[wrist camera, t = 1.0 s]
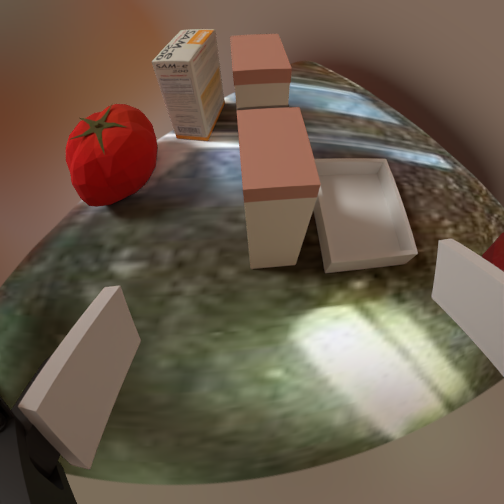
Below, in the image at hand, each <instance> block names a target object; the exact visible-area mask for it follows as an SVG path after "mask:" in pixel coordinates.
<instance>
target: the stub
mask: <svg viewBox="0 0 504 504" xmlns="http://www.w3.org/2000/svg"><path fill="white" fill-rule="evenodd" d="M237 121H238V134H239V146H240V159H241V171H242V183H243V195H244V205H245V215H246V226H247V236H248V246H249V256H250V266H251V269H256V268H267V267H278V266H289V265H296V262H297V259H298V256H299V253H300V250H301V246H302V243H303V240H304V237H305V234H306V231H307V228H308V225H309V221H310V218H311V215H312V212H313V208H314V205H315V202H316V199H317V195H318V192H319V189H320V185H321V184H320V180H319V176H318V172H317V168H316V164H315V160H314V157H313V153H312V149H311V145H310V142H309V138H308V135H307V131H306V128H305V124H304V121H303V118H302V114H301V111H300V108H299V107H291V108H266V109H250V110H237Z"/></svg>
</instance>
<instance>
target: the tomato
mask: <svg viewBox="0 0 504 504" xmlns="http://www.w3.org/2000/svg"><path fill="white" fill-rule="evenodd" d="M80 119H81V120H82V121H80V122H79V123H78V125H77V126H76V127H75V129H74V130H73V131H72V133H71V134H70V135H69V139H68V142H67V145H66V162H67V165H68V168H69V170H70V174H71V181H72V185H73V186H74V188H75V190H76V191H77V193H78V195H79V196H80V198H81V199H82V200H83V201H84V202H86V203H87V204H88V205H89V206H96V207H97V206H105V205H111V204H113V203H115V202H117V201H119V200H121V199H123V198H125V197H127V196H129V195H131V194H134V193H136V192H137V191H138V190H139V189H140V188H142V187H143V186H144V185H145V184H146V182H147V181H148V179H149V178H150V176H151V174H152V172H153V171H154V169H155V167H156V157H157V148H158V147H157V140H156V136H155V133H154V129H153V126H152V124H151V122H150V121H149V120H148V119H147V117H146V116H145V115H144V114H143V113H142V112H141V111H140V110H139V109H136V108H134V107H131V106H128V105H125V104H115V105H111V106H108V107H107V108H106V109H104V110H103V111H102V112H98V113H94V114H92V115H91V116H89V117H87V118H85V119H84V118H80Z"/></svg>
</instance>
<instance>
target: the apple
mask: <svg viewBox="0 0 504 504" xmlns="http://www.w3.org/2000/svg"><path fill="white" fill-rule="evenodd" d="M482 258H484V259H485V260H487V261H488V262H490V263H492V264H493V265H495V266H496V267H497V268H499V269H500V270H502V271H503V272H504V233H502V234H501V235H500V236H499V237H498V238H497V240H496V241H495V242H494V243H493V244H492V245H491V246H490V247H489V248H488V249H487V251H486V252H485V253H484V254H483V255H482Z"/></svg>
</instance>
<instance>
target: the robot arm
mask: <svg viewBox="0 0 504 504" xmlns="http://www.w3.org/2000/svg"><path fill="white" fill-rule="evenodd" d="M432 298H433V299H434V300H435V301H436V302H437V303H438V305H439V306H440V307H441V308H442V309H443V310H444V311H445V312H446V313H447V314H448V315H449V316H450V317H451V318H452V319H453V320H454V321H455V322H456V323H457V324H458V325H459V326H460V327H461V328H462V330H463V331H464V332H465V333H466V334H467V335H468V336H469V337H470V338H471V339H472V340H473V342H474V343H475V344H476V345H477V346H478V347H479V348H480V349H481V351H482V352H483V353H484V354H485V355H486V356H487V358H488V359H489V360H490V361H491V362H492V363H493V365H494V366H495V367H496V368H497V369H498V371H499V372H500V373H501V374H502V375H503V377H504V272H503V271H502V270H500V269H499V268H497V267H496V266H495V265H493V264H492V263H490V262H488V261H487V260H485V259H484V258H482V257H481V256H479V255H478V254H476V253H475V252H473V251H471V250H470V249H468V248H467V247H465V246H463V245H462V244H460V243H458V242H457V241H455V240H453V239H452V238H451V239H445V240H439V244H438V254H437V263H436V271H435V278H434V285H433V291H432ZM140 342H141V340H140V337H139V335H138V332H137V330H136V327H135V325H134V322H133V320H132V317H131V314H130V312H129V309H128V306H127V304H126V301H125V298H124V295H123V292H122V289H121V287H120V286H112V287H104V289H103V290H102V291H101V292H100V293H99V295H98V296H97V297H96V298H95V300H94V301H93V302H92V303H91V305H90V306H89V307H88V308H87V310H86V311H85V312H84V313H83V315H82V316H81V317H80V318H79V320H78V321H77V322H76V324H75V325H74V326H73V327H72V329H71V330H70V331H69V333H68V334H67V335H66V337H65V338H64V339H63V341H62V342H61V343H60V345H59V346H58V348H57V349H56V350H55V352H54V353H53V354H52V355H51V356H50V357H48V358H47V359H46V360H45V361H44V362H43V363H42V365H41V366H40V368H39V369H38V370H37V374H36V373H35V375H34V376H33V378H32V379H31V380H32V381H31V382H29V384H28V385H27V387H26V388H25V390H24V391H23V393H22V394H21V396H20V397H19V399H18V400H17V402H16V404H15V405H14V407H13V408H12V410H10V408H9V407H8V406H7V405H6V403H5V402H4V401H3V399H2V398H1V397H0V504H77V502H76V500H75V498H74V495H73V493H72V490H71V488H70V485H69V483H68V480H67V477H66V475H65V472H64V469H63V467H62V465H61V464H60V463H59V462H58V459H59V456H60V455H61V456H62V457H63V458H65V459H66V460H67V461H68V462H69V463H70V464H71V465H74V466H78V467H82V468H86V469H90V468H91V465H92V462H93V459H94V456H95V453H96V451H97V448H98V445H99V442H100V440H101V437H102V434H103V432H104V429H105V426H106V424H107V421H108V418H109V416H110V413H111V411H112V408H113V406H114V403H115V401H116V398H117V396H118V393H119V391H120V388H121V386H122V384H123V381H124V379H125V376H126V374H127V372H128V369H129V367H130V365H131V362H132V360H133V358H134V356H135V353H136V351H137V349H138V347H139V344H140Z"/></svg>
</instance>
